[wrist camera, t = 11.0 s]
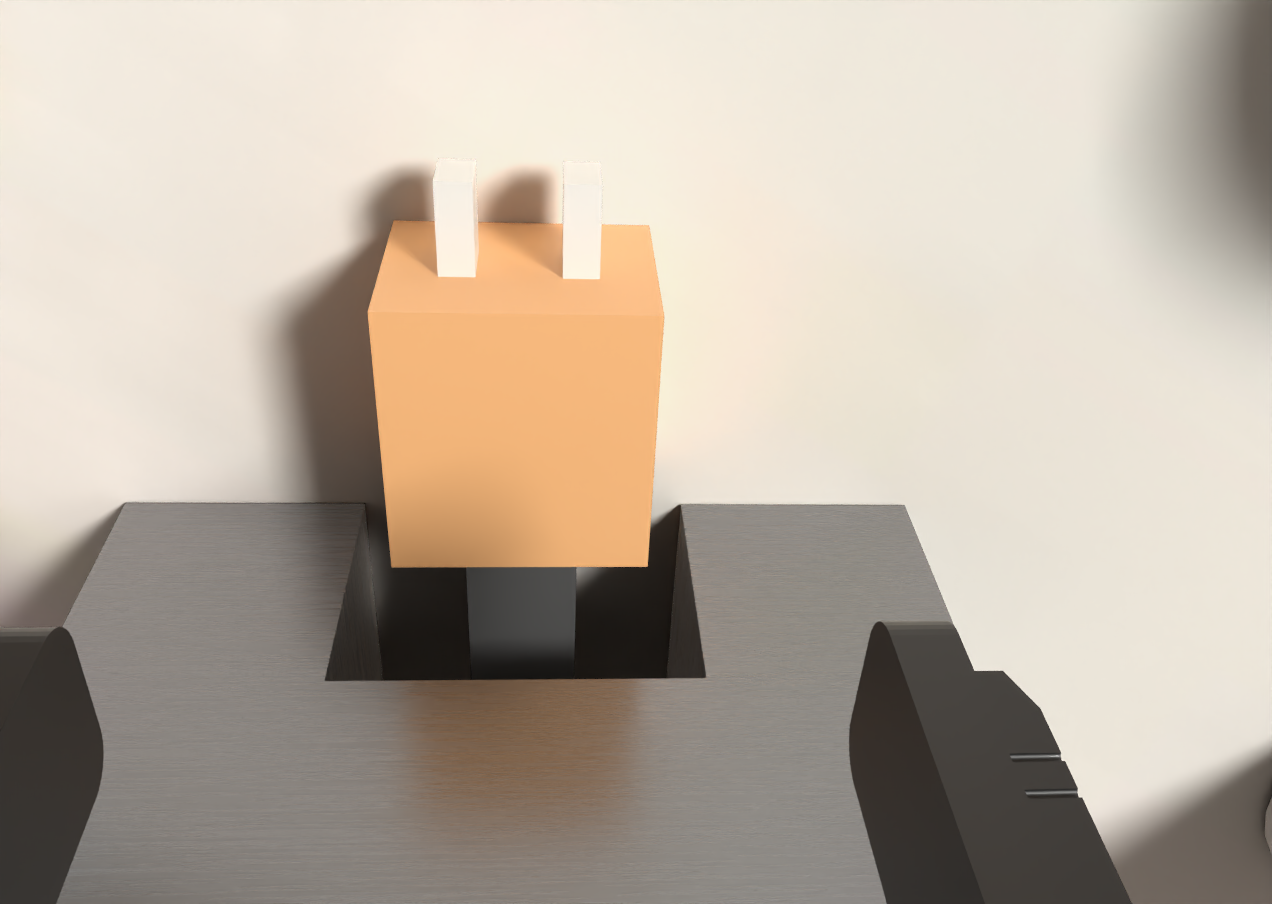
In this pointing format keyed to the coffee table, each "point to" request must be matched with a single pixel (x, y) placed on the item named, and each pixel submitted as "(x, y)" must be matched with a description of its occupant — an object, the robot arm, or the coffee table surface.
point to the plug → (517, 408)
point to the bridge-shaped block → (477, 724)
